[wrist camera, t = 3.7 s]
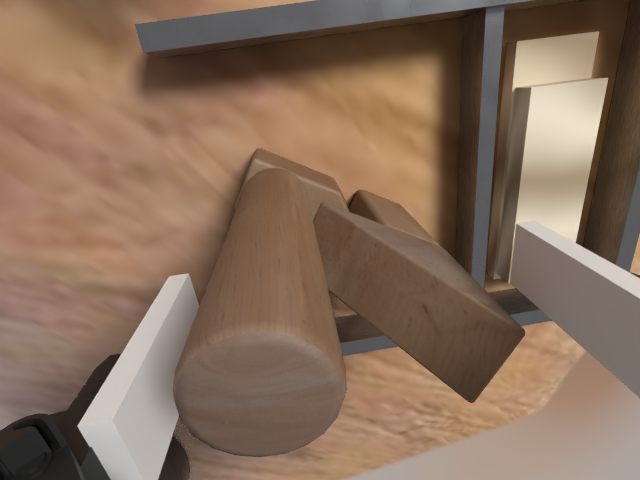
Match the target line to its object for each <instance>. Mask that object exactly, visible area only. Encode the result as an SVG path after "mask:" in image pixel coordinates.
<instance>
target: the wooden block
mask: <svg viewBox="0 0 640 480" xmlns="http://www.w3.org/2000/svg"><path fill="white" fill-rule="evenodd" d="M234 213H235V214H234V217H233V220H232V222H231V225H230V227H229V230H228V233H227V235H226V238H225V241H224V243H223V246H222V248H221V251H220V254H219V256H218V259H217V262H216V264H215V267H214V269H213V272H212V275H211V277H210V280H209V283H208V285H207V288H206V290H205V293H204V296H203V298H202V301H201V304H200V306H199V309H198V311H197V314H196V317H195V319H194V322H193V325H192V327H191V330H190V332H189V335H188V338H187V340H186V343H185V346H184V348H183V351H182V353H181V356H180V359H179V361H178V364H177V367H176V369H175V376H174V384H173V396H174V401H175V404H176V407H177V411H178V414H179V417H180V420H181V421H182V423H183V424H184V425H185V426H186V427H187V428H188V430H189V431H190V432H191V433H192V434H193V436H194V437H196V438H198V439H199V440H201V441H202V442H204V443H206V444H207V445H209V446H210V447H212V448H214V449H217V450H220V451H224V452H227V453H230V454H233V455H240V456H253V457H263V456H271V455H278V454H284V453H287V452H290V451H292V450H295V449H298V448H301V447H303V446H306V445H307V444H309V443H310V442H312V441H313V440H315V439H316V438H318V437H319V436H321V435H322V434H324V433H325V431H326V430H327V429H328V428H329V427H330V425H331V424H332V423H333V422H334V421H335V419H336V418H337V416H338V414H339V411H340V408H341V405H342V403H343V400H344V397H345V394H346V390H347V386H346V369H345V365H344V360H343V356H342V351H341V347H340V342H339V337H338V333H337V328H336V324H335V319H334V315H333V310H332V306H331V301H330V297H329V292H328V291H330V292H331V293H332V294H333V295H335V296H336V297H337V298H338V299H340V300H341V301H342V302H344V303H345V304H346V305H347V306H349V307H350V308H351V309H352V310H354V311H355V312H356V313H357V314H359V315H360V316H361V317H362V318H364V319H365V320H366V321H367V322H369V323H370V324H371V325H372V326H374V327H375V328H376V329H377V330H379V331H380V332H381V333H382V334H384V335H385V336H386V337H388V338H389V339H390V340H391V341H393V342H394V343H395V344H396V345H398V346H399V347H400V348H401V349H403V350H404V351H405V352H406V353H408V354H409V355H410V356H411V357H413V358H414V359H415V360H416V361H418V362H419V363H420V364H421V365H423V366H424V367H425V368H427V369H428V370H429V371H430V372H432V373H433V374H434V375H435V376H437V377H438V378H439V379H440V380H442V381H443V382H444V383H445V384H447V385H448V386H449V387H450V388H452V389H453V390H454V391H455V392H457V393H458V394H459V395H460V396H462V397H463V398H464V399H466V400H467V401H468V402H470V403H473V402H475V400H476V399H477V398H478V396H479V395H480V394H481V392H482V391H483V390H484V388H485V387H486V386H487V384H488V383H489V382H490V380H491V379H492V378H493V377H494V375H495V374H496V373H497V371H498V370H499V369H500V367H501V366H502V365H503V363H504V362H505V361H506V359H507V358H508V357H509V355H510V354H511V353H512V351H513V350H514V349H515V347H516V346H517V345H518V344H519V342H520V341H521V340H522V338H523V337H524V336H525V330H524V329H523V328H522V327H521V326H520V325H519V324H518V323H517V322H516V321H515V320H514V319H513V318H512V317H511V316H510V315H509V314H508V313H507V312H506V311H505V310H504V309H503V308H502V307H501V306H500V305H499V304H498V303H497V302H496V301H495V300H494V299H493V298H492V297H491V296H490V295H489V294H488V293H487V292H486V291H485V290H484V289H483V288H482V286H481V285H480V284H479V283H478V282H477V281H476V280H475V279H474V278H473V277H472V276H471V275H470V274H469V273H468V272H467V271H466V270H465V269H464V268H463V267H462V266H461V265H460V264H459V263H458V262H457V261H456V260H455V259H454V258H453V257H452V256H451V255H450V254H449V253H448V252H447V251H446V250H445V249H444V248H443V247H440V245H439V244H438V243H437V242H436V241H435V240H434V239H433V238H432V237H431V236H430V235H429V234H428V233H427V232H426V231H425V230H424V229H423V228H422V227H421V226H420V225H419V224H418V222H417V221H416V220H415V219H414V218H413V217H412V216H411V215H410V214H409V213H408V212H407V211H406V210H405V209H404V208H403V207H402V206H401V205H400V204H397V203H395V202H392V201H390V200H387V199H385V198H382V197H380V196H377V195H375V194H372V193H370V192H367V191H365V190H359V191H358V192H357V193H356V194H355V197H354V199H353V201H352V203H351V205H350V207H349V209H348V207H347V204H346V202H345V199H344V197H343V194H342V192H341V190H340V189H339V187H338V185H337V183H336V181H335V180H334V179H333V178H332V177H330V176H327V175H325V174H322V173H320V172H317V171H315V170H312V169H310V168H307V167H305V166H303V165H300V164H298V163H295V162H293V161H290V160H288V159H285V158H283V157H280V156H278V155H275V154H273V153H270V152H268V151H265V150H263V149H257V150H256V151H255V152H254V154H253V157H252V159H251V161H250V164H249V167H248V170H247V173H246V176H245V179H244V181H243V184H242V187H241V190H240V193H239V196H238V199H237V202H236V204H235V207H234Z"/></svg>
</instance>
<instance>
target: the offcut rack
mask: <svg viewBox="0 0 640 480" xmlns="http://www.w3.org/2000/svg"><path fill="white" fill-rule="evenodd" d="M576 1H584V0H317V1H309V2H302V3H294V4H286V5H279V6H271V7H264V8H256V9H248V10H241V11H233V12H225V13H218V14H210V15H203V16H195V17H187V18H180V19H172V20H165V21H157V22H149V23H142V24H135V26H136V30H137V33H138V37H139V40H140V43H141V47H142V50H143V53H146V54H151V55H155V56H159V57H169V56H176V55H183V54H191V53H198V52H206V51H213V50H221V49H228V48H235V47H243V46H250V45H258V44H265V43H272V42H280V41H287V40H295V39H302V38H309V37H317V36H324V35H332V34H339V33H347V32H354V31H361V30H369V29H376V28H384V27H391V26H398V25H406V24H413V23H421V22H428V21H435V20H443V19H450V18H458V17H464V20H463V50H462V81H461V111H460V142H459V172H458V202H457V233H456V261H457V262H458V263H459V264H460V265H461V266H462V267H463V268H464V269H465V270H466V271H467V272H468V273H469V274H470V275H471V276H472V277H473V278H474V279H475V280H476V281H477V282H478V283H479V284H480V285H481V286H482V288H483V289H484V284H485V270H486V257H487V243H488V229H489V215H490V201H491V188H492V174H493V160H494V146H495V133H496V119H497V105H498V91H499V77H500V64H501V50H502V36H503V22H504V11H510V10H517V9H524V8H532V7H539V6H547V5H554V4H561V3H569V2H576ZM639 234H640V0H631V4H630V9H629V14H628V19H627V24H626V29H625V35H624V40H623V45H622V50H621V55H620V60H619V65H618V70H617V76H616V81H615V86H614V91H613V96H612V101H611V106H610V112H609V117H608V122H607V127H606V132H605V137H604V142H603V147H602V153H601V158H600V163H599V168H598V173H597V178H596V183H595V188H594V194H593V199H592V204H591V209H590V214H589V219H588V224H587V229H586V235H585V240H584V245H583V247H584V248H586V249H587V250H589V251H591V252H593V253H595V254H596V255H598V256H600V257H602V258H604V259H606V260H607V261H609V262H611V263H613V264H615V265H616V266H618V267H620V268H622V269H624V270H625V271H627V272H630V268H631V264H632V260H633V256H634V253H635V249H636V245H637V241H638V237H639ZM488 294H489V295H490V296H491V297H492V298H493V299H494V300H495V301H496V302H497V303H498V304H499V305H500V306H501V307H502V308H503V309H504V310H505V311H506V312H507V313H508V314H509V315H510V316H511V317H512V318H513V319H514V320H515V321H516V322H517V323H518V324H519V325H520V326H523V325H529V324H535V323H541V322H547V321H553V320H552V319H550V318H549V317H548V316H547V315H546V314H545V313H544V312H543V311H541V310H540V309H539V308H538V307H537V306H536V305H535V304H534V303H532V302H531V301H530V300H529V299H528V298H527V297H526V296H525V295H523V294H522V293H521V292H520V291H519V290H518V289H517V288H515V289H509V290H503V291H497V292H491V293H488ZM334 319H335V324H336V328H337V333H338V337H339V342H340V347H341V351H342V356H345V355H351V354H356V353H362V352H368V351H374V350H380V349H386V348H392V347H398V345H396V344H395V343H394V342H393V341H391V340H390V339H389V338H388V337H386V336H385V335H384V334H382V333H381V332H380V331H379V330H377V329H376V328H375V327H374V326H372V325H371V324H370V323H369V322H367V321H366V320H365V319H364V318H362V317H361V316H360V315H359V314H357V315H351V316H345V317H339V318H334Z"/></svg>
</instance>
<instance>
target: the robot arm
mask: <svg viewBox="0 0 640 480" xmlns="http://www.w3.org/2000/svg"><path fill="white" fill-rule="evenodd" d="M510 283H511V284H512V285H513V286H514V287H516V288H517V289H518V290H519V291H520V292H521V293H522V294H523V295H525V296H526V297H527V298H528V299H529V300H530V301H531V302H532V303H534V304H535V305H536V306H537V307H538V308H539V309H540V310H541V311H543V312H544V313H545V314H546V315H547V316H548V317H549V318H550V319H552V320H553V321H554V322H555V323H556V324H557V325H558V326H559V327H561V328H562V329H563V330H564V331H565V332H566V333H567V334H568V335H570V336H571V337H572V338H573V339H574V340H575V341H576V342H577V343H579V344H580V345H581V346H582V347H583V348H584V349H585V350H586V351H588V352H589V353H590V354H591V355H592V356H593V357H594V358H595V359H597V360H598V361H599V362H600V363H601V364H602V365H603V366H604V367H606V368H607V369H608V370H609V371H610V372H611V373H612V374H613V375H615V376H616V377H617V378H618V379H619V380H620V381H621V382H622V383H624V384H625V385H626V386H627V387H628V388H629V389H630V390H631V391H633V392H634V393H635V394H636V395H637V396H638V397H639V398H640V275H637V274H634V273H629V272H627V271H625V270H624V269H622V268H620V267H618V266H616V265H615V264H613V263H611V262H609V261H607V260H606V259H604V258H602V257H600V256H598V255H596V254H595V253H593V252H591V251H589V250H587V249H586V248H584V247H582V246H580V245H578V244H576V243H575V242H573V241H571V240H569V239H567V238H566V237H564V236H562V235H560V234H558V233H556V232H555V231H553V230H551V229H549V228H547V227H546V226H544V225H542V224H540V223H538V222H536V221H529V222H522V223H516V230H515V239H514V248H513V258H512V267H511V276H510ZM198 309H199V303H198V300H197V297H196V294H195V291H194V288H193V285H192V282H191V278H190V275H189V273H188V274H181V275H175V276H169V278H168V279H167V281H166V282H165V284H164V286H163V287H162V289H161V291H160V292H159V294H158V295H157V297H156V299H155V300H154V302H153V304H152V305H151V307H150V308H149V310H148V312H147V313H146V315H145V317H144V318H143V320H142V321H141V323H140V325H139V326H138V328H137V330H136V331H135V333H134V335H133V336H132V338H131V339H130V341H129V343H128V344H127V346H126V348H125V349H124V351H123V352H122V354H117V355H110V356H109V357H108V358H107V359H106V360H105V361H104V362H102V363H101V364H100V365H99V366H98V367H97V368H96V369H95V370H94V372H93V373H92V375H91V376H90V378H89V379H88V381H87V382H86V385H85V386H83V388H82V389H81V391H80V392H79V394H78V397H77V398H75V400H74V401H73V403H72V404H71V406H70V407H69V409H68V410H67V411H64V412H60V413H56V414H53V415H50V416H49V415H48V414H35V415H30V416H26V417H24V418H22V419H20V420H18V421H15V422H13V423H11V424H10V425H8V426H7V427H5V428H4V429H2V430H1V431H0V480H188V478H189V472H190V466H189V461H188V457H187V455H186V453H185V451H184V449H183V447H182V446H181V445H180V443H179V442H178V441H177V440H176V439H175V438H174V437H173V436H172V435H173V432H174V429H175V426H176V423H177V420H178V417H179V414H178V411H177V407H176V404H175V401H174V396H173V384H174V376H175V369H176V367H177V364H178V361H179V359H180V356H181V353H182V351H183V348H184V346H185V343H186V340H187V338H188V335H189V332H190V330H191V327H192V325H193V322H194V319H195V317H196V314H197V311H198Z"/></svg>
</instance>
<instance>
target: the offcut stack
mask: <svg viewBox="0 0 640 480" xmlns="http://www.w3.org/2000/svg"><path fill="white" fill-rule="evenodd" d="M598 36H599V31H597V32H589V33H581V34H573V35H565V36H556V37H548V38H540V39H532V40H524V41H516V42H511V43H507V44H506V55H505V67H504V78H503V89H502V100H501V111H500V123H499V134H498V145H497V156H496V168H495V179H494V190H493V201H492V213H491V224H490V235H489V246H488V257H487V269H486V273H487V274H488V275H489V276H490V277H491V278H492V279H493V280H494V279H500V278H502V279H504V280H505V281H506V282H507V283H510V276H511V267H512V258H513V248H514V239H515V230H516V223H522V222H529V221H536V222H538V223H540V224H542V225H544V226H546V227H547V228H549V229H551V230H553V231H555V232H556V233H558V234H560V235H562V236H564V237H566V238H567V239H569V240H571V241H573V242H575V243H576V239H577V234H578V229H579V224H580V219H581V214H582V209H583V204H584V199H585V194H586V189H587V184H588V178H589V173H590V168H591V163H592V158H593V153H594V148H595V143H596V138H597V133H598V128H599V123H600V118H601V113H602V108H603V103H604V98H605V93H606V88H607V83H608V78H591V75H592V70H593V64H594V58H595V53H596V47H597V42H598Z"/></svg>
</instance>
